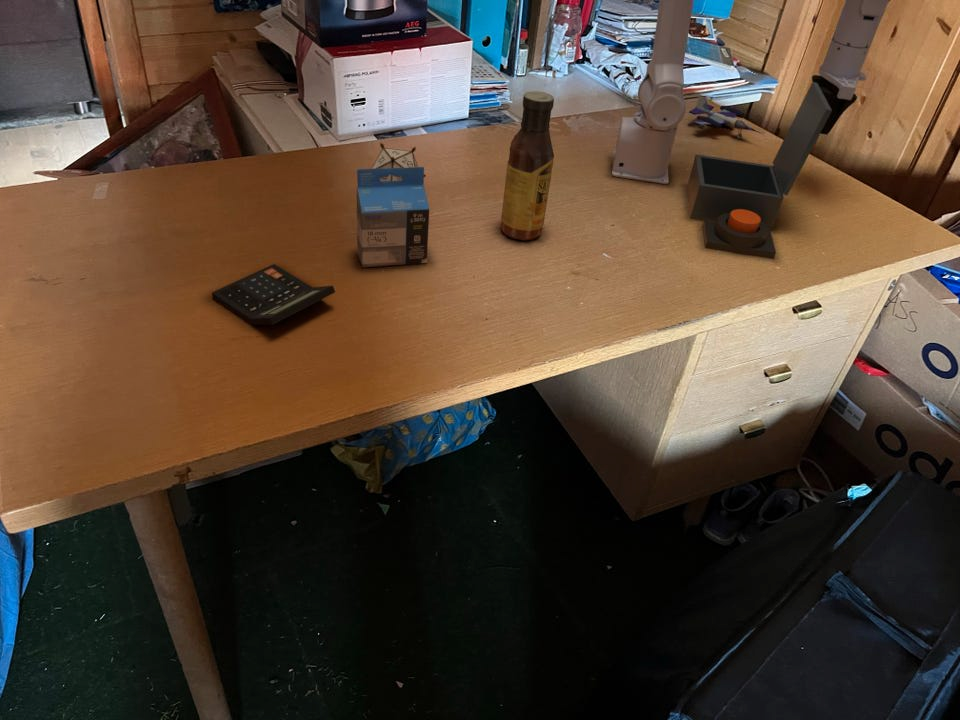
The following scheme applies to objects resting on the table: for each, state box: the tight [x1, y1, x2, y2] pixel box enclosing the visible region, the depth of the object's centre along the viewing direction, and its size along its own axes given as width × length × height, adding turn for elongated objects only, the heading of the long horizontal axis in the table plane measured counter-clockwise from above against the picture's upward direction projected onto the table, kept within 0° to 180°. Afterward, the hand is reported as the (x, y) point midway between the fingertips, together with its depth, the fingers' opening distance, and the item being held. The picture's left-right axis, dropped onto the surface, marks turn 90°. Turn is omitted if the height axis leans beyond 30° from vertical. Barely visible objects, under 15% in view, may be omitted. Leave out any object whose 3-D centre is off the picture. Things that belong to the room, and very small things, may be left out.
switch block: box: [701, 213, 777, 260], centre depth 112 cm, size 10×7×3 cm
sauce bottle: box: [500, 90, 555, 241], centre depth 104 cm, size 6×6×20 cm
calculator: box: [211, 263, 336, 326], centre depth 91 cm, size 9×12×3 cm
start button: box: [727, 209, 761, 234], centre depth 111 cm, size 4×4×2 cm
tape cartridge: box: [356, 166, 430, 268], centre depth 98 cm, size 9×4×12 cm, turn 105°
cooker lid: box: [772, 81, 832, 196], centre depth 113 cm, size 13×12×1 cm
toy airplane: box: [688, 95, 766, 140], centre depth 146 cm, size 13×14×4 cm
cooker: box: [686, 153, 785, 232], centre depth 120 cm, size 13×12×6 cm
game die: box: [370, 142, 427, 181], centre depth 113 cm, size 9×8×10 cm
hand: (818, 127), depth 124 cm, fingers open, 4 cm apart
